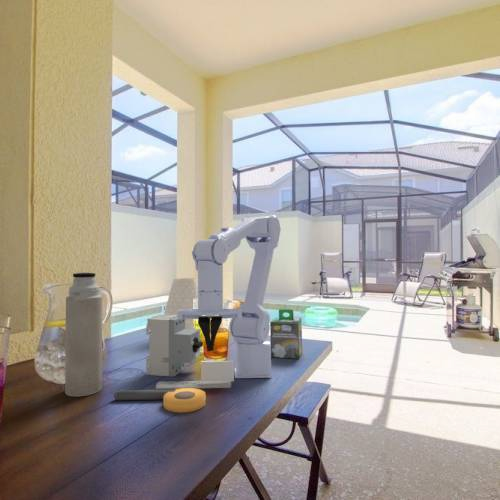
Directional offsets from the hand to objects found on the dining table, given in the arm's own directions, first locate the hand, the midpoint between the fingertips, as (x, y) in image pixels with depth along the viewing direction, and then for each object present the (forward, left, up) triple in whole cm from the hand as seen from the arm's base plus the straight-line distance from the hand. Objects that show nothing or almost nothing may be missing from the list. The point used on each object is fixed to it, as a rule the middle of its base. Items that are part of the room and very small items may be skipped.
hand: (210, 350), depth 86 cm
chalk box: (-23, -34, -10) cm, 42 cm away
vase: (+13, -62, -10) cm, 64 cm away
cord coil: (+5, +5, -10) cm, 13 cm away
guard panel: (-2, -6, -9) cm, 11 cm away
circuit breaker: (+10, -18, -10) cm, 23 cm away
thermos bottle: (+30, -5, -10) cm, 32 cm away
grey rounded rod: (+14, +2, -10) cm, 18 cm away
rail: (+4, -6, -10) cm, 12 cm away
